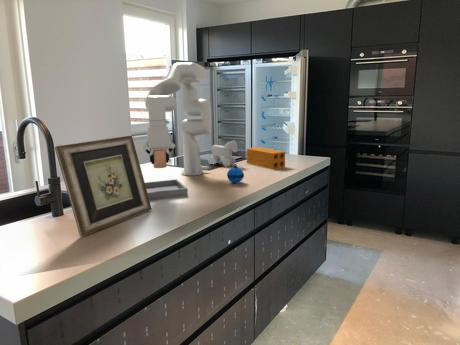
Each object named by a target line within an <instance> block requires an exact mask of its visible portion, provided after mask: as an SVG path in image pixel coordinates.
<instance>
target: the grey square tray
mask: <svg viewBox="0 0 460 345" xmlns="http://www.w3.org/2000/svg"><path fill="white" fill-rule="evenodd" d="M144 182H145V181H144ZM145 186H146V190H147V193H148V197H149V201H155V200H165V199H172V198H180V197H181V198H182V197H187V196H189V193H188V192H189V190H188V188H187V186H185V185H184V184H183V182H181V181H180V180H179V179H177V178H176V179H175V178H174V179H166V180H156V181H147V182H145Z"/></svg>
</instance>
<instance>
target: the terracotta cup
mask: <svg viewBox="0 0 460 345" xmlns="http://www.w3.org/2000/svg"><path fill="white" fill-rule="evenodd" d="M153 156H154V164H152V167H153V168H154V169H165V168H167V162H166V150H165V149H164V148H163V149H154V151H153Z"/></svg>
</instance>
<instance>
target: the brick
mask: <svg viewBox="0 0 460 345" xmlns="http://www.w3.org/2000/svg"><path fill="white" fill-rule="evenodd" d="M246 164H248V165H252V166H256V167H260V168H265V169H269V170H278V169H282V168H284V169H285V168H286V151H285V150H284V151H282V150H277V149H271V148H266V147H260V146H258V147H256V146H255V147H249V148H246Z"/></svg>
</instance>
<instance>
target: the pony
mask: <svg viewBox="0 0 460 345" xmlns="http://www.w3.org/2000/svg"><path fill="white" fill-rule="evenodd" d="M210 148H211V150H210V151H211V156H209V157H208V158H207V159H208V161H207V162H208V164H209V165H210V164H213V165H212V166H215V165H217V164H216V163H219V164H220V163H221V162H222V165H223V167H226V168H228V167H230V166H234V164H236V159H235V156H232V155H233V153H237V152H238V151H239V150H238V143H237V142H236V139H234V140H231V141H228V142H227V143H226V144H225V145H218V144H213V145H212V146H211V147H210ZM221 157H223V158H221ZM214 164H215V165H214Z"/></svg>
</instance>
